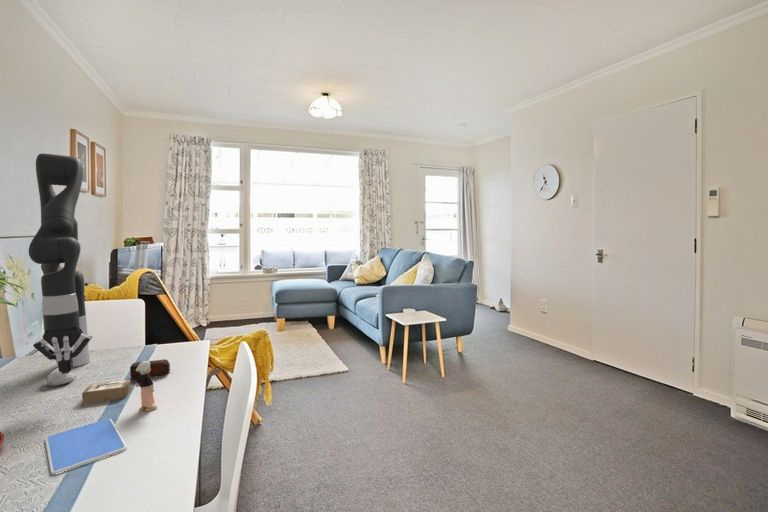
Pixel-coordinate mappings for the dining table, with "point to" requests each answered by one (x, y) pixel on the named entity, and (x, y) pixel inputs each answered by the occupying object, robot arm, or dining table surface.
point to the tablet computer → (83, 445)
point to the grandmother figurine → (145, 386)
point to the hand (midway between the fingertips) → (66, 372)
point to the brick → (156, 368)
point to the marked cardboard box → (106, 391)
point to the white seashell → (59, 378)
